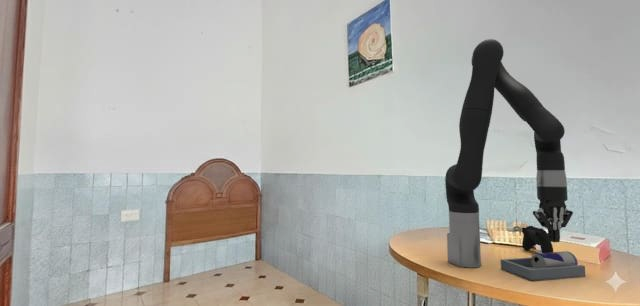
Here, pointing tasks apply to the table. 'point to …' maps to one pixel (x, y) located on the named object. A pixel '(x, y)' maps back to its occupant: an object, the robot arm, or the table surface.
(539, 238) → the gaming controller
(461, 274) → the table surface
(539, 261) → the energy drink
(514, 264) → the tray
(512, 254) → the table surface
